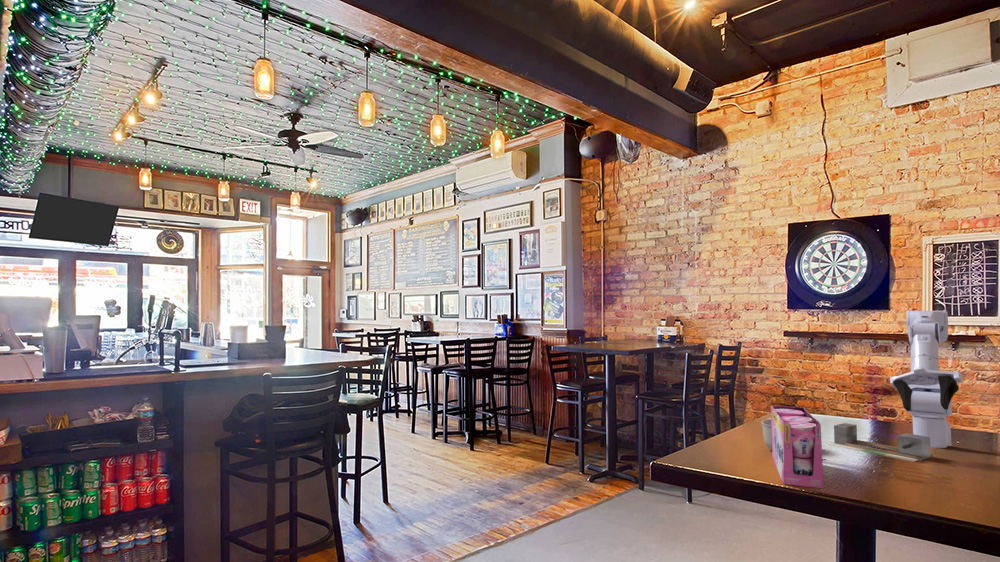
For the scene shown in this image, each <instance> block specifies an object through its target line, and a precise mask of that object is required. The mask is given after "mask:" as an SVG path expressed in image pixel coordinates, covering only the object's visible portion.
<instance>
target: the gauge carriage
mask: <svg viewBox="0 0 1000 562" xmlns="http://www.w3.org/2000/svg"><path fill="white" fill-rule="evenodd" d="M897 445H898V446H897V447H898V451H897V453H900V454H905V455H911V456H916V457H921V458H922V461H924V460H927V459H931V458H932V457H931V454H932V450H931V448H932V447H930V437H927V436H921V435H915V434H913V433H907V432H905V433H902V434H898V435H897Z"/></svg>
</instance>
